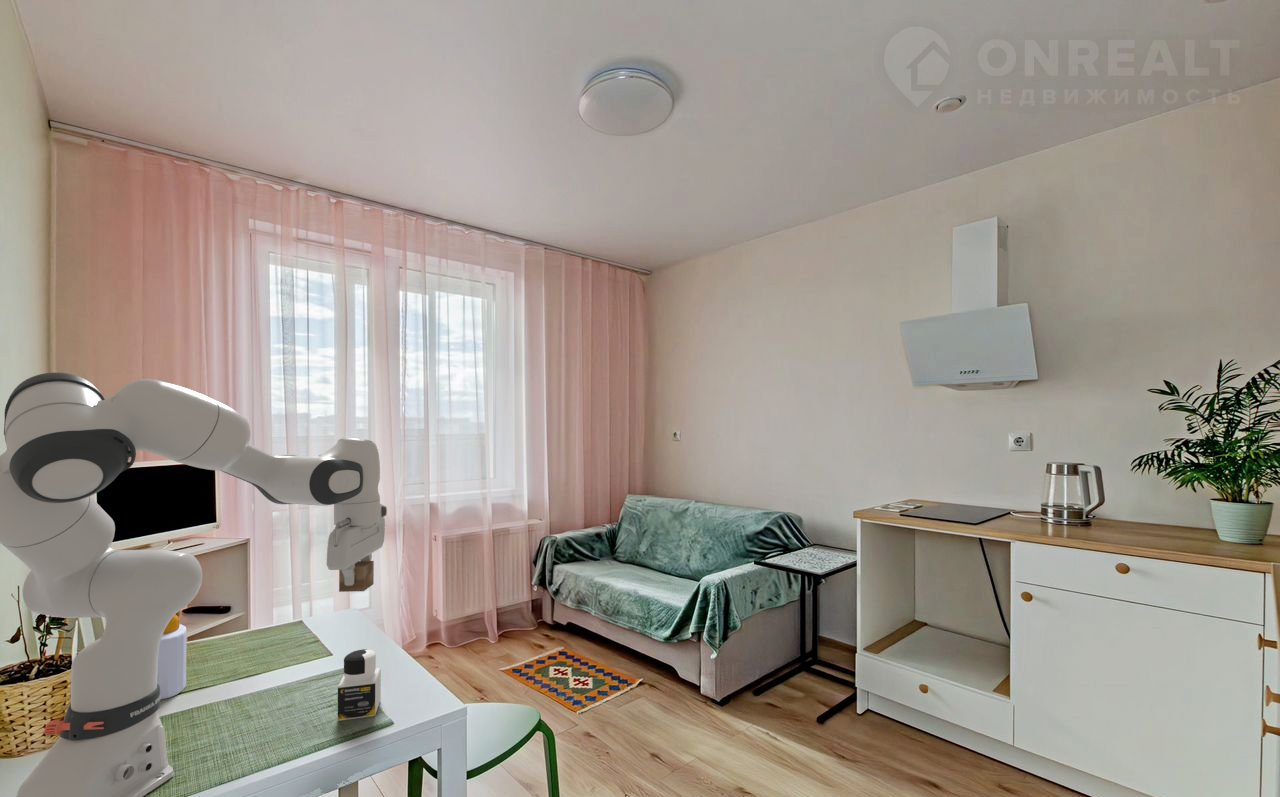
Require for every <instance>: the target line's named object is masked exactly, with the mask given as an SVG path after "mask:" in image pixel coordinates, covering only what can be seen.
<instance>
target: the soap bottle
mask: <svg viewBox="0 0 1280 797" xmlns="http://www.w3.org/2000/svg"><path fill="white" fill-rule="evenodd" d="M187 633H188V632H187V627H186V626H185V625H183V623H182V624H181V623H180V618H179V616H178V615H177V614H175V615H174V616H173V618H172V619H171V620H170V622H169V623H168V625H167V626H166V628H165V630H164V633H163V635H162V638H161V641H160V645H159V653H158V668H157V684H159V686H160V693H161V698H160V701H161V700H165V699H170V698H172V697H174V696H177V695H178V694H179V693H182V692H183V691H184V689H185V688H186V686H187V654H188V653H187V648H188V647H187V644H188V643H187V641H188V640H187V638H188V637H187V636H188V634H187Z"/></svg>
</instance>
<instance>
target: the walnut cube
mask: <svg viewBox="0 0 1280 797" xmlns="http://www.w3.org/2000/svg"><path fill="white" fill-rule="evenodd" d="M374 563H375V562H374V560H371V561H358V562H357V563H355V568H354V574H355V575H356V583H355V584H353V585H352V586H346V585H345V578H344V575H343V573H342V570H338V571H339V572H338V574H339V575H338V576H339V577H338V578H339V579H338V582H339V583H338V592H339V593H342V592H343V593H344V592H346V593H347V592H349V593H350V592H352V593H353V592H365V591H367V589H369V588H370V587H372V586H373V585H374V582H375V581H374V578H375V577H374V571H375V570H374V568H375V566H374V565H375V564H374Z"/></svg>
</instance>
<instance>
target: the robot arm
mask: <svg viewBox="0 0 1280 797" xmlns="http://www.w3.org/2000/svg"><path fill="white" fill-rule="evenodd" d="M4 408H5V409H4V424H3V426H4V427H3V436H4V442H5V445H6V450H5V452H3V453H2V454H0V544H1V545H2V546H3V547H5V549H7V550H8V551H10V553H12V554H13V555H14V556H15V557H17V558H18V559H19V561H21V562H22V563H23V564H24V565H25V566H27V567H28V569H30V572H29V573H28V575H26V578H25V580H24V583H23V585H22V586H23V587H22V599H23V601H24V604H25V606H26V607H27V608H28V610H30V611H31V612H33V613H36V614H39V615H45V616H50V617H55V618H56V617H57V618H62V619H63V618H64V619H75V618H76V619H77V618H78V619H80V618H105V625H104V626H105V628H104V630H103V631H104V632H103V633H102V636H101V637H99V638H98V639H96V640H94V641H93V642H91V643H89V644H88V645H86V646H85V647H83V649H81V651H79V653H78V654H77V655H76V656H75V657H74V659H73V661H72V663H71V666H70V667H71V671H70V673H71V674H70V704H69V706H68V707H67V709H66V712H65V715H64V718H63V720H51V721H49V722H47V724H46V725H45V727H44V730H43V732H44V735H46V736H52V735H59V738H58V739H57V740H56V742H55V743H54V744H52V747H51V748H50V749H49V750H48V752H47V753H46V754H45V755H44V756H43V757H42V759H41V760H40V762H39V763H38V764H37V765H36V766H35V768H34V769H33V770H32V771H31V773H30V774H29V775H28V776H27V777H26V778H25V780H24V781H23V782H22V784H20V787H18V790H17V793H16V795H15V797H144V796H146V795H147V794H148V793H150V792H152V791H153V790H155V789H156V788H158V787H159V786H161V785H162V784H164V783H166V782H167V781H168V780H170V779H171V778H173V776H174V774H175V772H174V768H173V767H172V766H171V765H169V760H168V752H167V751H168V750H167V740H166V735H165V734H166V733H165V728H164V726H163V722H162V721H161V718H160V716H159V711H158V710H159V709H160V708H161V700H160V698H161V693H160V686H159V684H157V668H158V653H159V645H160V641H161V638H162V635H163V633H164V630H165V628H166V626H167V625H168V623H169V622H170V620H171V619H172V618H173V616H174V615H177V613H179V612H181V610H182V609H184V608H186V606H188V605H189V604H190V603H191V602H192V601H193V600H194V599H195V598H196V596H197V595H198V593H199V591H200V590H201V587H202V583H203V577H204V576H203V575H204V574H203V569H202V566H201V564H200V561H199V560H198V559H197V557H196V556H194V555H193V554H191V553H186V552H182V551H176V550H171V549H159V548H157V549H156V548H155V549H117V548H114V547H113V548H112V547H111V545H112V543H113V540H114V538H115V534H116V533H115V532H116V525H115V521H114V520H113V518H112V517H111V516H110V515H109V514H108V513H107V512H106V511H105V510H104V509H103V508H102V507H101V505H100V504H98V502H96V500H95V499H94V498H93V497H92V496H93V495H95V494H98V493H100V491H102V490H104V489H105V488H107V487H108V486H109V485H110V484H111V483H112V482H114V481H115V479H116V478H117V477H118V476H119V475H120V474H121V473H123V472H124V471H126V470H128V469H130V468H132V466H133V465H134V463H135V461H136V457H137V452H148V453H151V454H154V455H158V456H161V457H163V458H166V459H169V460H171V461H173V462H177V463H180V464H182V465H187V466H190V467H193V468H198V469H204V470H208V471H220V472H221V473H224V474H227V475H229V476H232V477H234V478H237V479H239V480H242V481H244V482H247V483H249V484H251V485H252V486H254V488H256V489H257V490H258V491H259V492H260V493H261V494H262V496H264V497H265V498H266V499H267V500H268V501H270V502H271V503H274V504H276V505H303V506H304V505H305V506H325V507H326V506H331V505H333V525H334V526H335V527H334V529H333V530H332V531H331V532H330V533H329V536H328V540H327V548H326V549H327V550H326V551H327V552H326V566H327V569H328V570H330V571H339V570H342V573H343V575H344V578H345V585H346V586H352V585H353V584H355V583H356V575H355V574H354V568H355V563H357V562H358V561H372V557H373V555H372V554H373V553H374V552H377V551H379V549H381V548H383V545H384V541H385V534H386V533H385V532H386V528H385V527H386V516H387V515H388V508H387V506H386V505H383V504H381V497H380V496H381V495H380V493H379V483H380V480H381V466H380V465H381V464H380V463H381V462H380V460H381V459H380V454H379V448H378V446H377V444H376V443H375V442H374V441H372V440H369V439H365V438H355V437H343V438H339V439H338V440H337V442H336V444H335V445H334V446H332V447H331V448H330V449H329V450H327V451H325V452H323V453H320V454H318V456H314V455H313V456H310V455H309V456H308V455H295V454H294V455H293V454H275V455H273V454H270V453H268V452H267V451H264V450H263V449H259V448H258V447H256V446H254V445H252V444H249V443H250V439H251V427H250V424H249V422H248V419H247V418H246V417H244V416H243V415H241V414H240V413H239V412H238V411H237V410H235V409H233V408H232V407H230V406H228V405H227V404H225V403H222V402H220V401H218V400H217V399H213V398H212V397H209V396H207V395H205V394H203V393H200V392H197V391H195V390H192V389H190V388H187V387H183V386H180V385H177V384H173V383H169V382H166V381H163V380H159V379H153V378H143V379H142V378H141V379H137V380H134V381H131V382H130V383H127V384H126V385H124V386H123V387H121V388H120V389H119V390H118V391H117V392H116V393H115V394H114V395H113V396H110V397H108V398H106V399H105V397H104V396H103V394H102V393H101V391H100V390H99V389H98V388H97V387H96V386H95V385H94V384H93V383H92V382H91V381H89V380H87V379H86V378H84V377H81V376H79V375H76V374H72V373H68V372H46V373H41V374H36V375H33V376H31V377H29V378H27V379H24V380H23V381H21V382H20V383H19V384H18V385H17V386H16V387H15V388H14V390H13V391H12V392H11V393H10V395H9V397H8V399H7V402H6V404H5V407H4ZM129 459H130V461H129Z"/></svg>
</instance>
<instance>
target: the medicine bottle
mask: <svg viewBox="0 0 1280 797" xmlns="http://www.w3.org/2000/svg"><path fill="white" fill-rule="evenodd" d="M376 656H377V654H376V652H375V651H374V650H372V649H364V648H363V649H358V650H353V651H351V652H350V653H348V654H347V655H345V657H344V658H343V676H342V678H341V680H340V682H339V683H338V685H337V721H338V722H341V721H348V720H355V719H363V718H370V717H375V716H376V715H377V714H376V713H377V711H378V708H379V705H380V702H381V701H382V700H381V698H382V697H381V696H382V695H381V694H382V693H381V692H382V691H381V690H382V688H381V685H382V684H381V682H382V681H381V680H382V679H381V677H382V675H381V674H382V671H381V669H382V668H381V667H376V666H377V664H376V663H377V662H376V661H377V658H376Z"/></svg>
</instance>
